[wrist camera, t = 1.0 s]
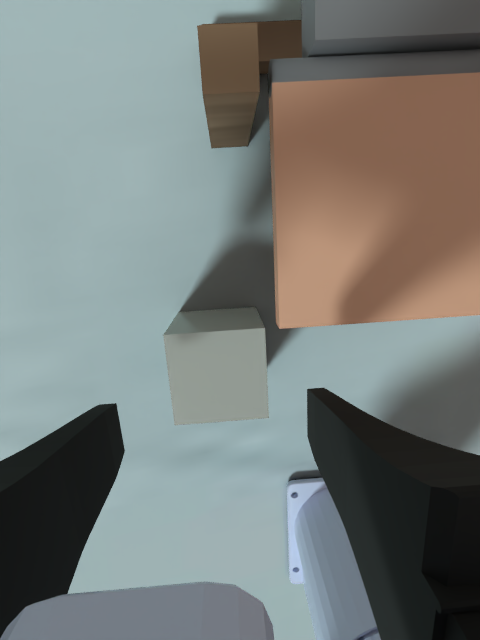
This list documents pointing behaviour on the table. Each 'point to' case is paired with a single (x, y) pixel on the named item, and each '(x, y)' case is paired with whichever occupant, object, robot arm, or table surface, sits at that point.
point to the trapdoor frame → (240, 72)
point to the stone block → (217, 366)
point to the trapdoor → (377, 163)
